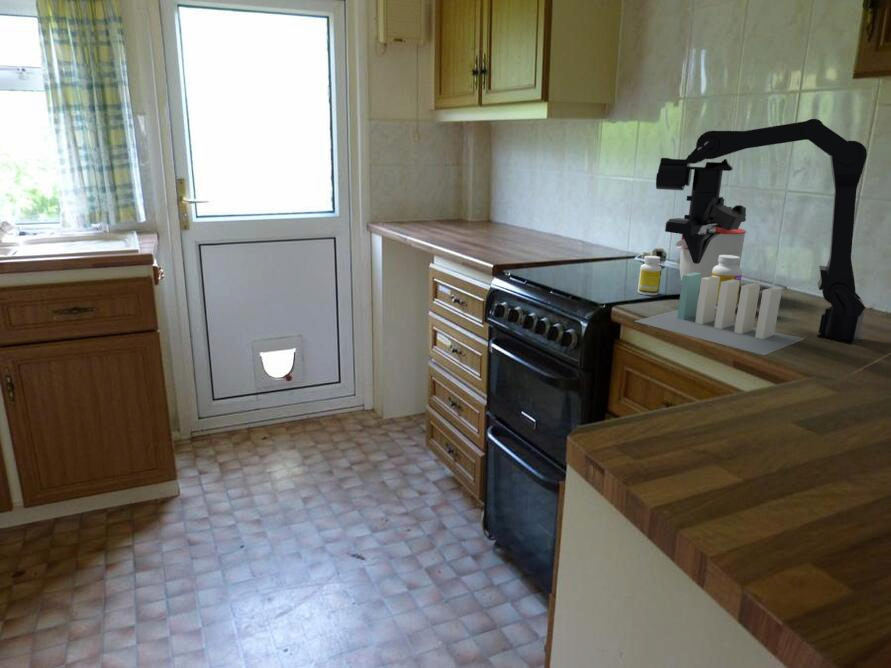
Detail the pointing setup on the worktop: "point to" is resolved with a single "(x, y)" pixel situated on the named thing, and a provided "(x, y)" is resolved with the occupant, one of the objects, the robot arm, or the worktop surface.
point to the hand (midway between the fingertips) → (696, 263)
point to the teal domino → (689, 295)
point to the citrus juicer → (712, 252)
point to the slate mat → (720, 333)
